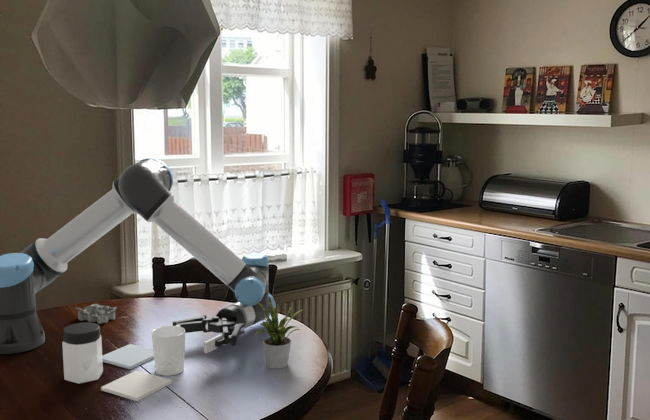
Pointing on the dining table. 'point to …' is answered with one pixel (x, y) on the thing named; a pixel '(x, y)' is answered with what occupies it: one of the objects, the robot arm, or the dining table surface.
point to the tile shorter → (136, 385)
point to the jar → (82, 352)
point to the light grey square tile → (129, 356)
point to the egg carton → (96, 313)
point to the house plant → (276, 338)
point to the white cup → (168, 350)
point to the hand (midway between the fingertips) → (183, 342)
